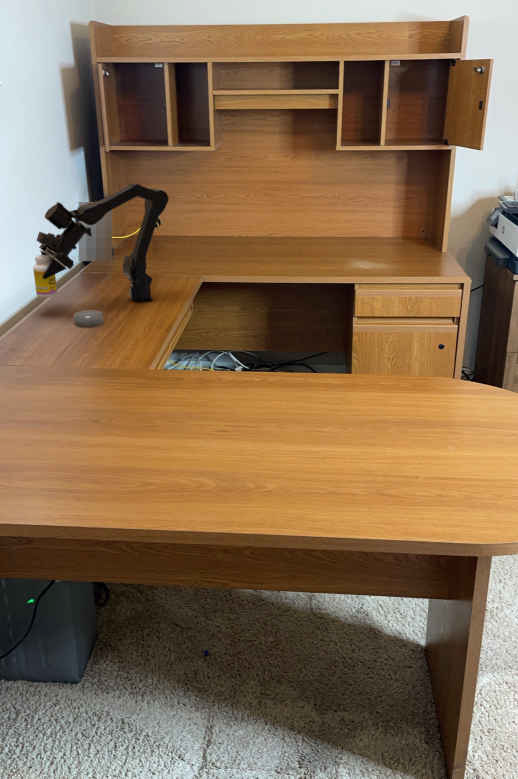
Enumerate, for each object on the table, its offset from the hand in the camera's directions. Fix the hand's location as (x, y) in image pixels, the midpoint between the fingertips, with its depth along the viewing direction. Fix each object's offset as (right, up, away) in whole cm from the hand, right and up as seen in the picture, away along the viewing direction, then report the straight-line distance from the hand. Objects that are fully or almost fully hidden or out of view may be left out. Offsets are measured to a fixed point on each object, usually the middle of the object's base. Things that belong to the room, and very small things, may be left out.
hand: (40, 276), depth 231 cm
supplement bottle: (+1, -6, +3) cm, 7 cm away
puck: (+16, -16, -3) cm, 23 cm away
